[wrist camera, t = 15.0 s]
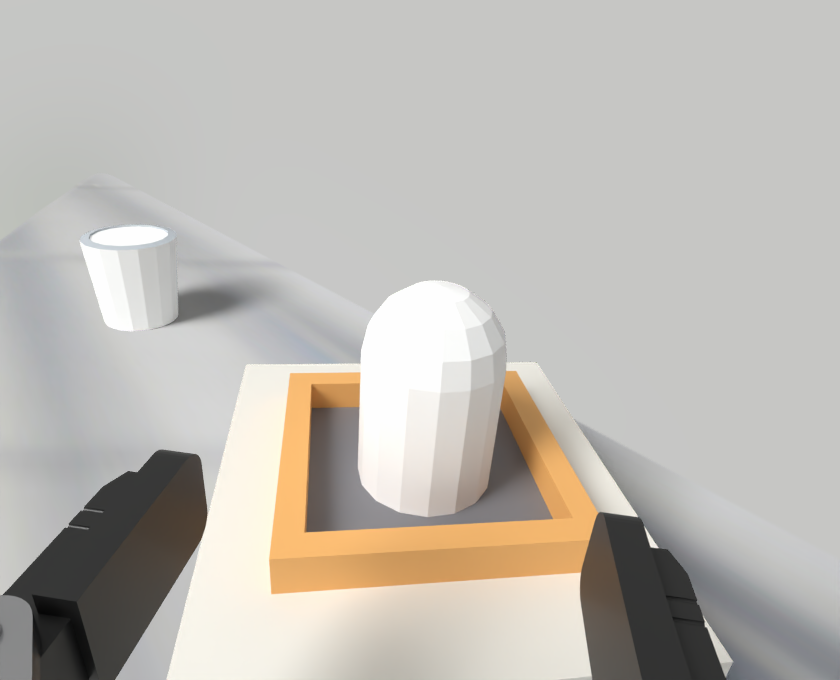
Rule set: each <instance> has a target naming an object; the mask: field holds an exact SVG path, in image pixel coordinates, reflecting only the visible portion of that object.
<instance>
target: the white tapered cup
mask: <svg viewBox="0 0 840 680" xmlns="http://www.w3.org/2000/svg"><path fill="white" fill-rule="evenodd" d="M80 244H81V248H82V251H83V254H84V257H85V261H86V264H87V267H88V270H89V273H90V277H91V280H92V283H93V286H94V289H95V293H96V296H97V299H98V302H99V306H100V309H101V312H102V315H103V318H104V322H105V323H106V324H107V325H108V326H109V327H111V328H114V329H117V330H122V331H143V330H151V329H155V328H159V327H163V326H165V325H167V324H169V323H171V322H173V321H174V320H175V319H176V318H177V317H178V281H177V240H176V232H175V231H173V230H171V229H170V228H166V227H161V226H157V225H144V224H132V225H117V226H110V227H104V228H100V229H96V230H92V231H90V232H88V233H86V234H84V235H82V236H81V238H80Z"/></svg>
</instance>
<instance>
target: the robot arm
mask: <svg viewBox="0 0 840 680" xmlns="http://www.w3.org/2000/svg"><path fill="white" fill-rule="evenodd" d="M206 522H207V504H206V496H205V488H204V480H203V472H202V464H201V460H200V457H199V456H198V455H196V454H190V453H183V452H176V451H169V450H158V451H157V452H155V453H154V454H153V455H152V456H151V457H150V459H149V460H148V461H147V462H146V463H145V464H144V466H143V467H142V468H141V469H140V470H139V471H138V472H130V471H128V472H126V473H124V474H123V475H121V476H120V477H118V478H116V479H115V480H113V481H111V482H110V483H108V484H107V485H105V486H103V487H102V488H101V489H100V490H99V491H98V492H97V494H96V495H95V496H94V497H93V498H92V499H91V500H90V501H89V502H88V503H87V504H86V505H85V507H84V510H83V511H80V512H79V513H78V514H77V515H76V516H75V517H74V518H73V520H72V521H71V522H70V523H69V526H68V528H64V529H63V530H62V532H61V533H60V534H59V535H58V536H57V537H56V538H55V539H54V540H53V541H52V542H51V543H50V545H49V546H48V547H47V548H46V549H45V550H44V551H43V552H42V553H41V554H40V555H39V556H38V558H37V559H36V560H35V561H34V562H33V563H32V564H31V565H30V566H29V567H28V568H27V569H26V571H25V572H24V573H23V574H22V575H21V576H20V577H19V578H18V579H17V580H16V581H15V583H14V584H13V585H12V586H11V587H10V588H9V589H8V590H7V591H6V592H5V593H4V594H3V595H1V596H0V680H115V679H116V677H117V676H118V674H119V672H120V671H121V669H122V667H123V666H124V664H125V663H126V661H127V659H128V658H129V656H130V654H131V653H132V651H133V650H134V648H135V646H136V645H137V643H138V642H139V640H140V638H141V637H142V635H143V633H144V632H145V630H146V629H147V627H148V625H149V624H150V622H151V620H152V619H153V617H154V616H155V614H156V612H157V611H158V609H159V607H160V606H161V604H162V603H163V601H164V599H165V598H166V596H167V594H168V593H169V591H170V590H171V588H172V586H173V585H174V583H175V581H176V580H177V578H178V577H179V575H180V573H181V572H182V570H183V568H184V567H185V565H186V564H187V562H188V560H189V559H190V557H191V555H192V554H193V552H194V551H195V549H196V547H197V546H198V544H199V542H200V541H201V538H202V536H203V533H204V530H205V527H206ZM580 601H581V608H582V615H583V622H584V628H585V635H586V641H587V648H588V655H589V661H590V668H591V674H592V680H726V678H725V675H724V672H723V669H722V667H721V664H720V661H719V658H718V656H717V653H716V650H715V648H714V645H713V642H712V639H711V637H710V634H709V631H708V628H707V627H705V620H704V618H703V615H702V612H701V609H700V607H699V605H697V598H696V596H695V593H694V590H693V588H692V585H691V582H690V579H689V577H688V574H687V573H686V571H685V570H684V569H683V568H682V566H681V565H680V564H679V563H678V562H677V560H676V559H675V558H674V557H673V555H672V554H671V553H670V552H669V551H668V550H666V549H659V548H652V547H650V544H649V541H648V538H647V534H646V531H645V528H644V525H643V522H642V520H641V519H640V518H639V517H633V516H626V515H619V514H612V513H605V512H599V513H598V514H597V516H596V519H595V522H594V526H593V529H592V533H591V537H590V540H589V544H588V547H587V551H586V555H585V558H584V562H583V565H582V570H581V577H580Z"/></svg>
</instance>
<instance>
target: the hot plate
mask: <svg viewBox="0 0 840 680" xmlns="http://www.w3.org/2000/svg"><path fill="white" fill-rule="evenodd" d="M360 374H361V364H257V365H246V367H245V371H244V375H243V379H242V383H241V386H240V390H239V394H238V398H237V402H236V406H235V410H234V414H233V418H232V422H231V426H230V430H229V434H228V438H227V442H226V446H225V450H224V454H223V458H222V462H221V466H220V470H219V474H218V478H217V482H216V485H215V489H214V493H213V497H212V501H211V505H210V509H209V513H208V517H207V522H206V527H205V530H204V533H203V537H202V541H201V545H200V549H199V553H198V557H197V561H196V565H195V569H194V573H193V577H192V580H191V584H190V588H189V592H188V596H187V600H186V604H185V608H184V612H183V616H182V620H181V624H180V628H179V632H178V636H177V640H176V644H175V648H174V652H173V656H172V660H171V664H170V668H169V672H168V675H167V679H166V680H592V674H591V668H590V661H589V655H588V648H587V641H586V635H585V628H584V622H583V615H582V608H581V601H580V577H581V570H582V565H583V562H584V558H585V555H586V551H587V547H588V544H589V540H590V537H591V533H592V529H593V526H594V522H595V519H596V516H597V514H598V513H599V512H605V513H612V514H619V515H626V516H633V517H638V516H637V514H636V513H635V511H634V510H633V508H632V507H631V505H630V504H629V502H628V501H627V499H626V498H625V496H624V495H623V493H622V492H621V490H620V489H619V487H618V486H617V484H616V482H615V481H614V479H613V478H612V476H611V475H610V473H609V472H608V470H607V469H606V467H605V466H604V464H603V463H602V461H601V460H600V458H599V457H598V455H597V454H596V452H595V451H594V449H593V447H592V446H591V444H590V443H589V441H588V440H587V438H586V437H585V435H584V434H583V432H582V431H581V429H580V428H579V426H578V425H577V423H576V422H575V420H574V419H573V417H572V416H571V414H570V412H569V411H568V409H567V408H566V406H565V405H564V404H563V402H562V400H561V399H560V397H559V396H558V394H557V393H556V391H555V390H554V388H553V387H552V385H551V384H550V382H549V380H548V379H547V378H546V376H545V374H544V373H543V371H542V370H541V368H540V367H539V365H538V364H537V362H521V363H520V362H517V363H506V375H505V381H504V387H503V394H502V400H501V406H500V412H499V418H498V425H497V431H496V437H495V443H494V449H493V456H492V462H491V468H490V474H489V480H488V487H487V489H486V490H485V492H484V493H483V494H482V496H481V497H480V498H479V499H478V501H477V502H476V503H475V504H473V505H471V506H469V507H467V508H465V509H463V510H461V511H459V512H457V513H455V514H448V515H440V516H432V517H424V516H418V515H412V514H405V513H399V512H397V511H395V510H393V509H391V508H389V507H387V506H385V505H383V504H381V503H379V502H377V501H376V500H375V499H374V498H373V497H372V496H371V495H370V494H369V492H368V491H367V490H366V489H365V488H364V487H363V486H362V484H361V480H360V475H359V471H358V443H359V409H360ZM644 528H645V527H644ZM645 531H646V534H647V538H648V541H649V544H650V547H652V548H658V546H657V545H656V543H655V542H654V540H653V539H652V537H651V536H650V534H649V533H648V531H647V530H646V528H645ZM703 618H704V616H703ZM704 620H705V627H707V628H708V631H709V634H710V637H711V639H712V642H713V645H714V648H715V650H716V653H717V656H718V658H719V661H720V664H721V667H722V669H723V672H724V675H725V678H726V676H727V674H728V672H729V670H730V668H731V666H732V664H733V661H732V659H731V658H730V656H729V654H728V653H727V651H726V650H725V648H724V647H723V645H722V644H721V642H720V641H719V639H718V638H717V636H716V635H715V633H714V632H713V630H712V629H711V627H710V626H709V624H708V623H707V621H706V619H705V618H704Z"/></svg>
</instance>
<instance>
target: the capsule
mask: <svg viewBox="0 0 840 680" xmlns="http://www.w3.org/2000/svg"><path fill="white" fill-rule="evenodd" d="M506 357H507V356H506V341H505V331H504V329H503V327H502V326H501V324H500V322H499V320H498V319H497V317H496V315H495V313H494V312H493V310H492V308H491V307H490V306H489V305H488V304H487V302H486V301H485V300H483V299H481V298H480V297H478V296H477V295H475V294H474V293H472V292H471V291H469V290H468V289H466V288H464V287H463V286H460V285H459V284H454V283H451V282H446V281H425V282H419V283H417V284H414V285H412V286H410V287H407V288H405V289H402V290H400V291H398V292H397V293H394V294H393V295H391V296H389V297H388V299H387V300H386V301H385V302H384V303H383V304H382V306H381V307H380V308H379V309H378V310H377V312H376V313H375V314H374V315H373V317H372V319H371V321H370V322H369V324H368V326H367V330H366V334H365V338H364V342H363V346H362V350H361V374H360V409H359V443H358V471H359V475H360V480H361V484H362V486H363V487H364V488H365V489H366V490H367V491H368V492H369V494H370V495H371V496H372V497H373V498H374V499H375V500H376V501H377V502H379V503H381V504H383V505H385V506H387V507H389V508H391V509H393V510H395V511H397V512H399V513H405V514H412V515H418V516H424V517H432V516H440V515H448V514H455V513H457V512H459V511H461V510H463V509H465V508H467V507H469V506H471V505H473V504H475V503H476V502H477V501H478V499H479V498H480V497H481V496H482V494H483V493H484V492H485V490H486V489H487V487H488V480H489V474H490V468H491V462H492V456H493V449H494V443H495V437H496V431H497V425H498V418H499V412H500V406H501V400H502V394H503V387H504V381H505V375H506V361H507V358H506Z"/></svg>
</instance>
